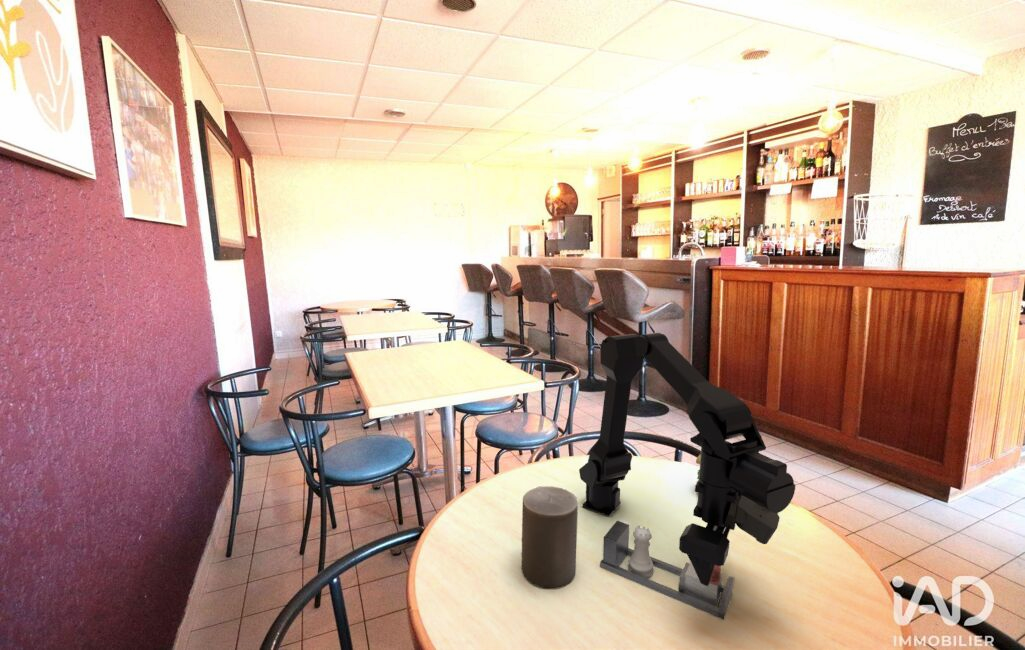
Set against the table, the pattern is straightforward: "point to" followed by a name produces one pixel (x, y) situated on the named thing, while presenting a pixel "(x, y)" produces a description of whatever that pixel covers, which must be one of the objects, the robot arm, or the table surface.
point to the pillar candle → (549, 536)
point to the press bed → (619, 549)
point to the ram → (701, 585)
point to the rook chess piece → (641, 553)
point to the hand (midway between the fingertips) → (711, 567)
